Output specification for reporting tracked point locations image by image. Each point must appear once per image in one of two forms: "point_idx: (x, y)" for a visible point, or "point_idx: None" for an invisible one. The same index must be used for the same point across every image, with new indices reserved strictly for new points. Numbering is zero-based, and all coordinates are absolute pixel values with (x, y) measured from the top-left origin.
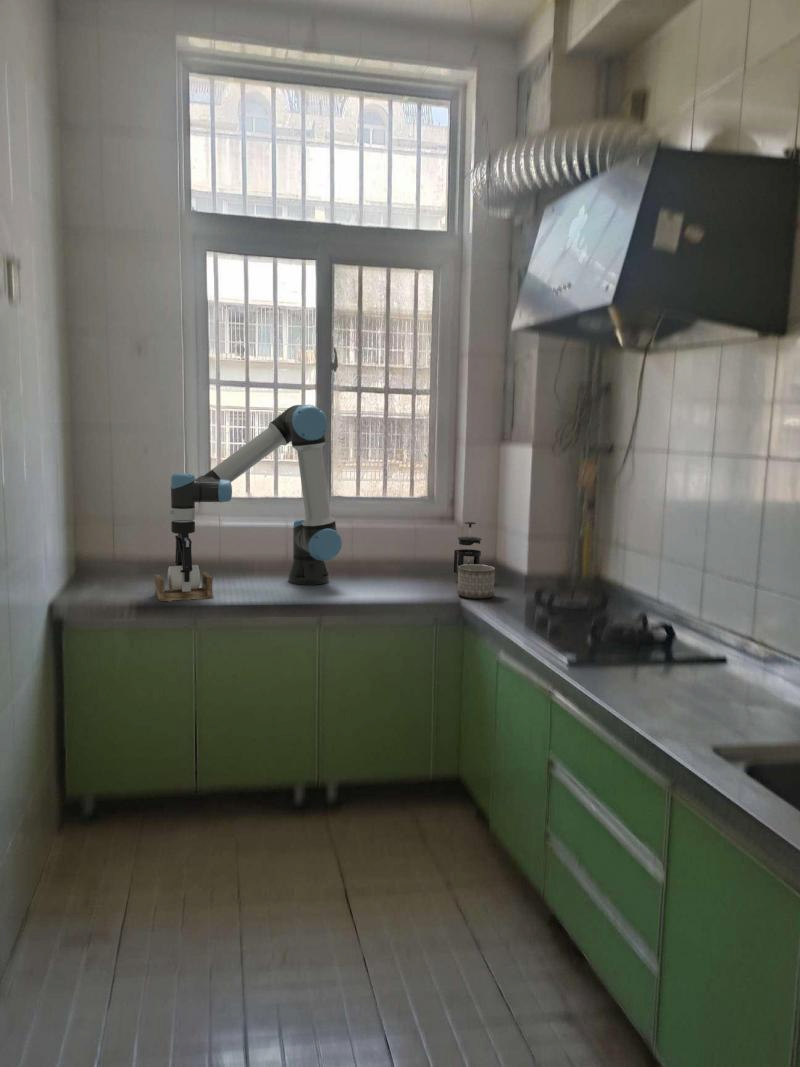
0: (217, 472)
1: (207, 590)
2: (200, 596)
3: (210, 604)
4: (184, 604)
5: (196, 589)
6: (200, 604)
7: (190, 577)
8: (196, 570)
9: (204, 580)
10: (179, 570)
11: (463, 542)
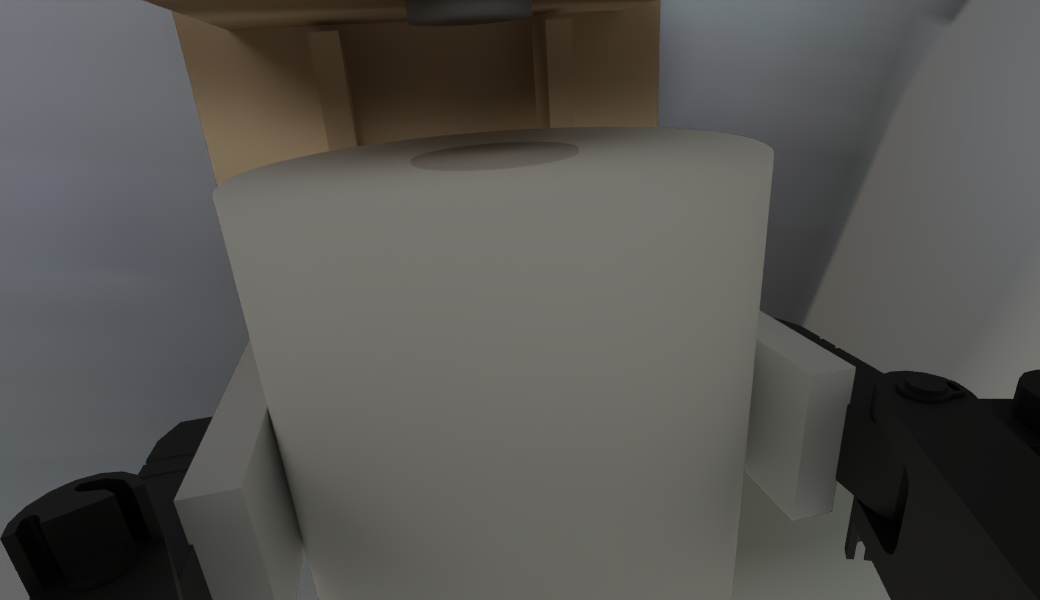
0: None
1: (625, 2)
2: (641, 117)
3: (904, 46)
4: (798, 299)
5: (356, 136)
6: (860, 151)
7: (777, 323)
8: (760, 233)
9: (531, 12)
10: (727, 574)
11: None
